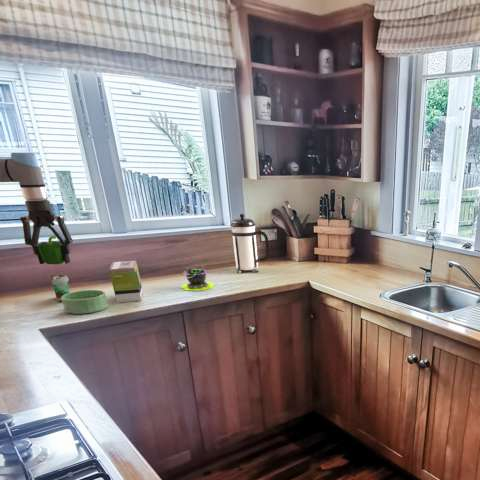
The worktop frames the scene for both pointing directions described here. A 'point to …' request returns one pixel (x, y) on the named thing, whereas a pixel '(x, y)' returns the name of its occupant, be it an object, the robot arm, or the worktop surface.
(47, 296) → the worktop surface
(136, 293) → the tea box
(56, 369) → the worktop surface
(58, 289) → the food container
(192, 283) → the toy cauldron
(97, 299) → the bowl
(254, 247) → the coffee press
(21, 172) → the robot arm
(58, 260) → the bell pepper
